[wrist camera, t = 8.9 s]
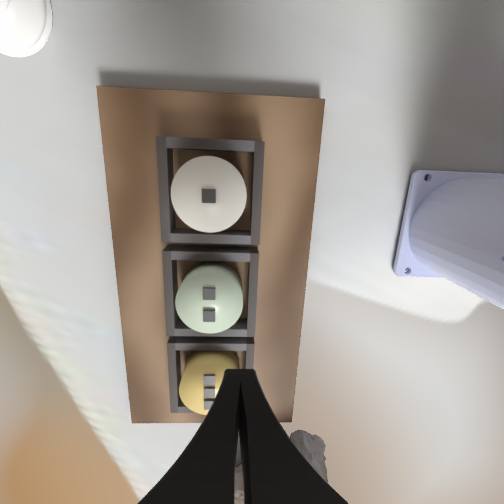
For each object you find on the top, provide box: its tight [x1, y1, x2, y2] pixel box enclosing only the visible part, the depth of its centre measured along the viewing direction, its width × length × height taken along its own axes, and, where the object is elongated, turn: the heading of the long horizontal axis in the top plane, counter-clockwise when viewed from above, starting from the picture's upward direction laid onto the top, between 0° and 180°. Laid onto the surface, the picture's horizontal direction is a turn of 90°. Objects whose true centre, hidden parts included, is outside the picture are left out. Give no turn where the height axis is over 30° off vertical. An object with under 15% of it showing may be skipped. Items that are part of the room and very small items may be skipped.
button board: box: [96, 86, 325, 423], centre depth 21 cm, size 14×26×3 cm, turn 178°
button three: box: [179, 350, 240, 415], centre depth 21 cm, size 4×4×3 cm
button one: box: [171, 156, 247, 233], centre depth 17 cm, size 4×4×3 cm
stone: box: [234, 430, 328, 504], centre depth 25 cm, size 8×10×6 cm
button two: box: [175, 261, 243, 334], centre depth 19 cm, size 4×4×3 cm
